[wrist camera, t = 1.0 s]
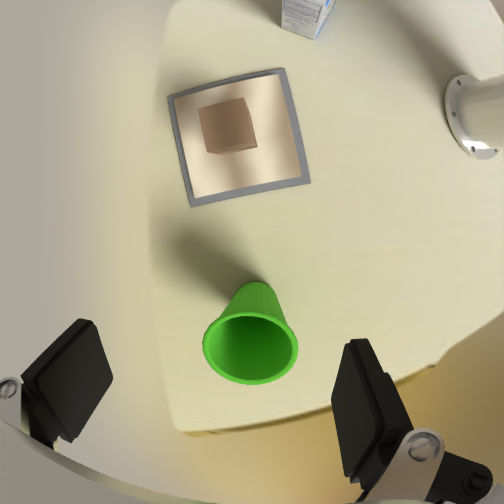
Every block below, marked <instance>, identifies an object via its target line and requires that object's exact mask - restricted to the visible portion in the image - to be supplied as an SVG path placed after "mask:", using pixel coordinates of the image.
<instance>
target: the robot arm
mask: <svg viewBox="0 0 504 504" xmlns="http://www.w3.org/2000/svg"><path fill="white" fill-rule="evenodd" d="M445 111H446V116H447V119H448V123H449V126H450V128H451V130H452V133H453V135H454V136H455V138H456V140H457V142H458V143H459V144H460V146H461V147H462V148H463V149H464V150H465V151H466V152H467V153H468V154H469V155H471V156H472V157H474V158H477V159H482V160H489V159H491V158H493V157H495V156H496V155H497V153H498V152H499V151H500V150H504V75H500V76H496V77H492V78H488V79H485V80H481V81H479V80H478V79H476V78H474V77H472V76H469V75H460V76H457V77H455V78H453V79H452V80H451V81H450V82H449V84H448V86H447V88H446V92H445ZM21 378H22V380H23V381H24V383H23V384H21V383H20V381H19V380H18V379H17V378H15V377H6V378H4V379H2V380H0V504H216V503H208V502H203V501H197V500H191V499H186V498H181V497H176V496H172V495H168V494H164V493H160V492H156V491H152V490H149V489H145V488H142V487H139V486H136V485H132V484H129V483H126V482H124V481H120V480H118V479H115V478H112V477H110V476H107V475H105V474H102V473H100V472H98V471H95V470H93V469H90V468H88V467H86V466H84V465H82V464H79V463H77V462H75V461H73V460H71V459H69V458H67V457H65V456H63V455H61V454H60V451H59V446H58V440H57V437H58V436H60V437H61V438H62V439H63V440H65V441H67V442H70V443H72V441H73V440H74V438H77V437H78V436H79V434H80V433H81V431H82V429H83V428H84V426H85V424H86V423H87V421H88V419H89V418H90V416H91V414H92V413H93V411H94V410H95V408H96V407H97V405H98V403H99V402H100V400H101V399H102V397H103V396H104V394H105V392H106V391H107V389H108V388H109V386H110V385H111V383H112V380H113V375H112V372H111V369H110V366H109V363H108V361H107V358H106V355H105V352H104V349H103V346H102V343H101V340H100V337H99V333H98V330H97V327H96V326H95V325H94V323H93V322H92V321H91V320H86V319H77V320H76V321H75V322H74V323H73V324H72V325H71V326H70V327H69V328H68V329H67V330H66V331H65V332H63V334H62V335H60V336H59V337H58V338H57V339H56V340H55V341H54V342H53V343H52V344H51V345H50V346H49V347H48V348H47V349H46V350H45V351H44V352H43V353H42V354H41V355H40V356H39V357H38V358H37V359H36V360H35V361H34V362H33V363H32V364H31V365H30V366H29V367H28V368H27V369H26V370H25V372H24V373H23V374H22V375H21ZM331 404H332V409H333V414H334V419H335V425H336V430H337V435H338V441H339V446H340V452H341V458H342V464H343V469H344V475H345V477H350V482H351V484H352V483H358V482H360V485H361V489H363V491H362V493H361V494H360V495H359V497H358V498H357V499H356V501H355V502H354V503H346V504H504V487H503V486H502V485H500V484H499V483H497V484H495V485H494V484H493V476H492V473H491V471H490V470H489V469H488V468H487V467H486V466H484V465H482V464H479V463H476V462H473V461H470V460H467V459H465V458H462V457H459V456H456V455H454V454H451V453H449V452H446V451H445V444H444V440H443V439H442V437H441V436H440V435H439V434H438V433H437V432H436V431H433V430H431V429H427V428H418V429H415V430H414V428H413V426H412V423H411V421H410V418H409V416H408V414H407V411H406V409H405V407H404V405H403V402H402V400H401V398H400V396H399V394H398V391H397V389H396V387H395V385H394V383H393V380H392V378H391V376H390V375H389V374H388V373H387V372H385V373H384V372H383V369H382V367H381V365H380V363H379V361H378V359H377V357H376V355H375V352H374V350H373V348H372V346H371V344H370V342H369V340H368V339H367V338H364V339H351V341H350V343H346V344H345V346H344V350H343V355H342V359H341V363H340V367H339V371H338V374H337V378H336V382H335V385H334V389H333V392H332V396H331Z"/></svg>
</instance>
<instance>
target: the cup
mask: <svg viewBox="0 0 504 504" xmlns="http://www.w3.org/2000/svg"><path fill="white" fill-rule="evenodd" d="M202 344H203V352H204V355H205V358H206V360H207V362H208V363H209V365H210V366H211V367H212V369H214V370H215V371H216V372H217V373H218V374H219V375H221V376H223V377H224V378H226V379H228V380H231V381H233V382H236V383H241V384H247V385H259V384H265V383H269V382H272V381H274V380H277V379H279V378H280V377H282V376H283V375H285V374H286V373H287V372H288V371H289V370H290V369H291V368H292V366H293V365H294V363H295V361H296V359H297V355H298V342H297V339H296V337H295V335H294V332H293V331H292V330H291V329H290V327H289V326H288V325H287V322H286V320H285V317H284V315H283V312H282V310H281V307H280V304H279V302H278V299H277V297H276V294H275V292H274V291H273V290H272V288H271V287H269V286H268V285H266V284H264V283H261V282H250V283H246V284H245V285H243V286H242V287H240V288H239V290H238V291H237V292H236V294H235V295H234V297H233V298H232V300H231V301H230V303H229V304H228V306H227V307H226V308H225V310H224V311H223V313H222V314H221V316H220V317H219V318H217V319H216V320H215V321H214V322H213V323H212V324H210V325H209V327H208V329H207V330H206V332H205V333H204V337H203V341H202Z"/></svg>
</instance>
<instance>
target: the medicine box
mask: <svg viewBox="0 0 504 504" xmlns="http://www.w3.org/2000/svg"><path fill="white" fill-rule="evenodd" d="M334 3H335V0H282V18H281V28H283V29H286V30H289V31H291V32H294V33H297V34H300V35H302V36H305V37H307V38H310V39H312V40H315V39H316V37H317V35H318V33H319V31H320V29H321V27H322V25H323V23H324V22H325V20H326V18H327V16H328V14H329V12H330V10H331V9H332V7H333V5H334Z"/></svg>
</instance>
